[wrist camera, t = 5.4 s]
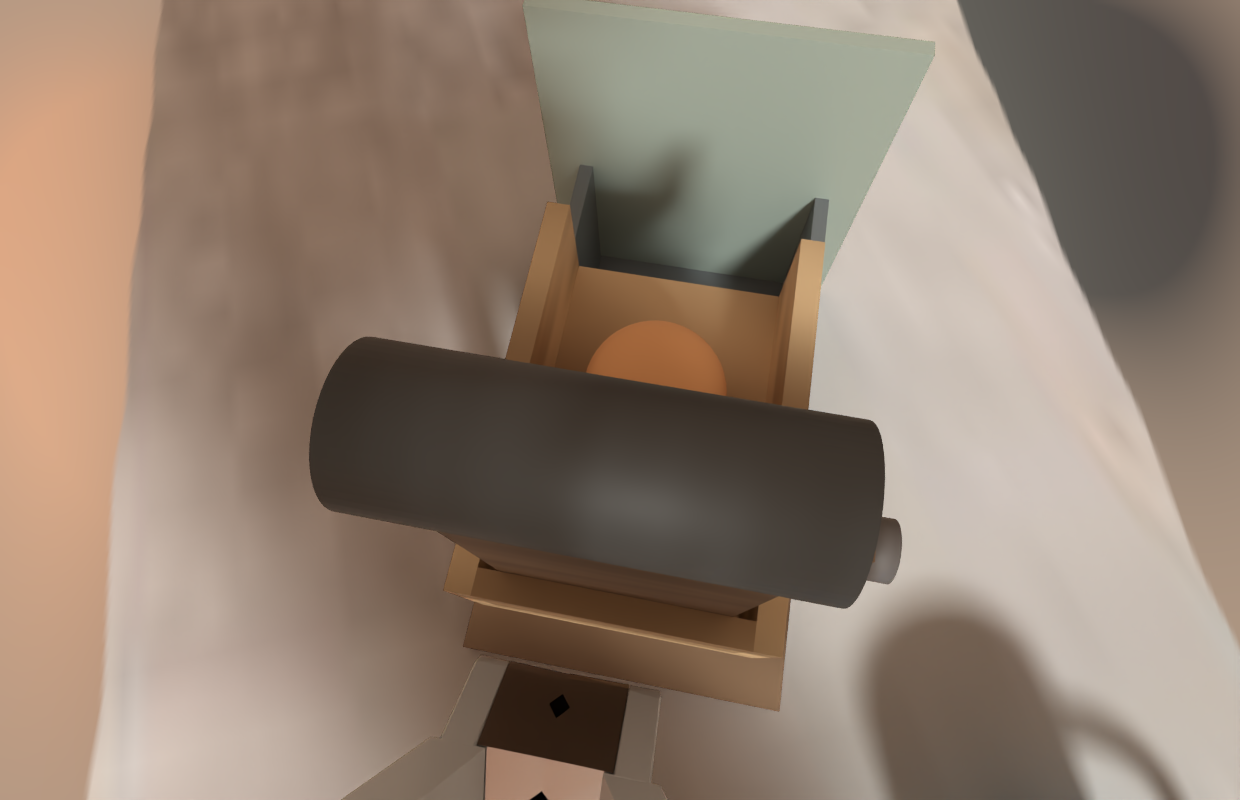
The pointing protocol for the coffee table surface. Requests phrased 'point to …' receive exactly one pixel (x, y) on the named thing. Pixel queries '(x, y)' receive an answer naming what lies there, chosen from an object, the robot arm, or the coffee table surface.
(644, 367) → the ball
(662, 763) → the coffee table surface
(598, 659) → the stand
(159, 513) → the coffee table surface
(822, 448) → the chute
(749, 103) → the bin
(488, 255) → the coffee table surface
